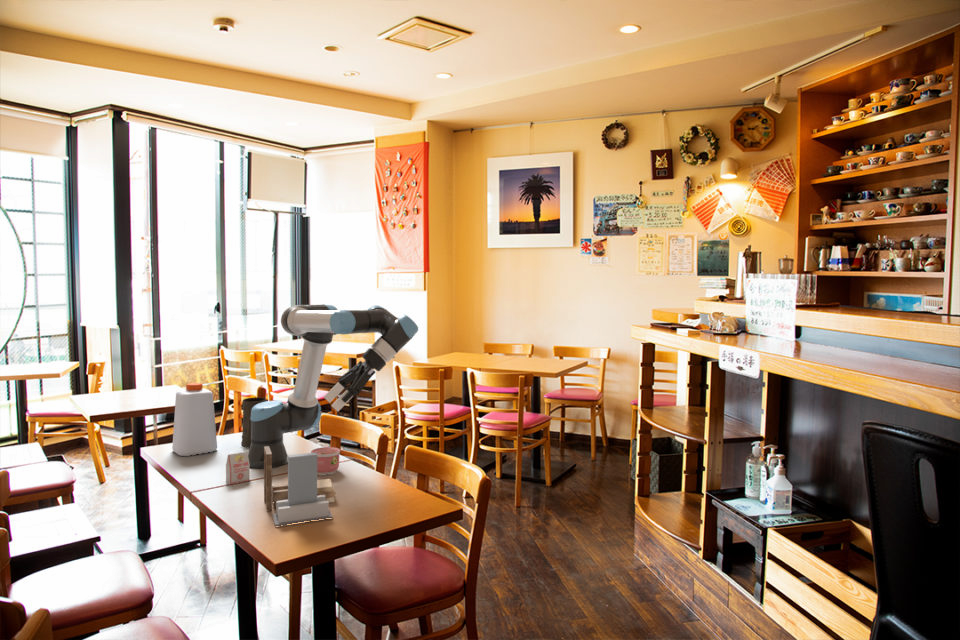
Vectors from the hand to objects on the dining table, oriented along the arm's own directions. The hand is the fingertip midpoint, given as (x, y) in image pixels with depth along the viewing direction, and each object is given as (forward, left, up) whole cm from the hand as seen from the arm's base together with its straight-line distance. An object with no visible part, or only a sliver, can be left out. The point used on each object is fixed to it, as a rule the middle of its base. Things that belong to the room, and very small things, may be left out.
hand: (330, 404), depth 181 cm
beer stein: (-34, -77, -32) cm, 91 cm away
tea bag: (+1, -43, -32) cm, 54 cm away
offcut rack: (+3, -10, -32) cm, 34 cm away
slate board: (+12, +1, -31) cm, 33 cm away
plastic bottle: (-14, -90, -32) cm, 97 cm away
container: (-23, -25, -32) cm, 47 cm away
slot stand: (+12, +1, -32) cm, 34 cm away
